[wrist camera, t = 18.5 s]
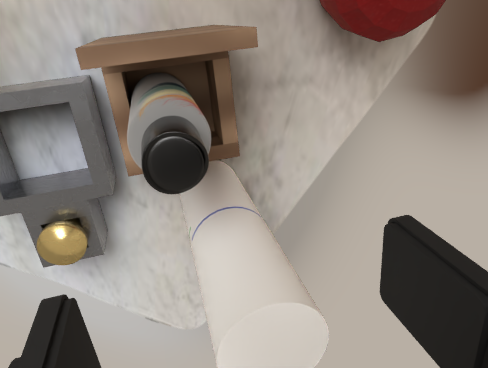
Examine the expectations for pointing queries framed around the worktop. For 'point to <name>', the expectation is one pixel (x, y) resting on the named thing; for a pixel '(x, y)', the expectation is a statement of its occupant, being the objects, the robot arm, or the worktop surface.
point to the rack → (178, 65)
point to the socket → (67, 183)
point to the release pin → (62, 242)
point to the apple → (381, 16)
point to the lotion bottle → (168, 134)
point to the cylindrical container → (248, 281)
